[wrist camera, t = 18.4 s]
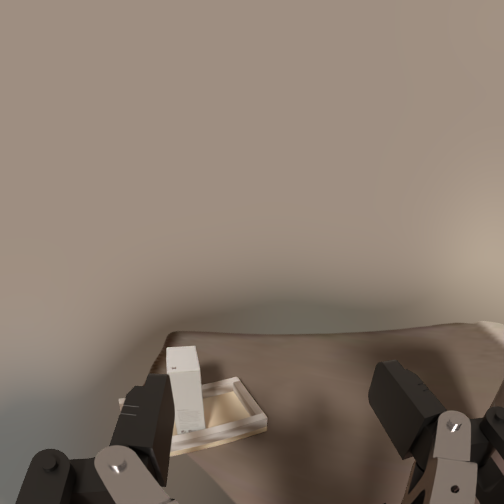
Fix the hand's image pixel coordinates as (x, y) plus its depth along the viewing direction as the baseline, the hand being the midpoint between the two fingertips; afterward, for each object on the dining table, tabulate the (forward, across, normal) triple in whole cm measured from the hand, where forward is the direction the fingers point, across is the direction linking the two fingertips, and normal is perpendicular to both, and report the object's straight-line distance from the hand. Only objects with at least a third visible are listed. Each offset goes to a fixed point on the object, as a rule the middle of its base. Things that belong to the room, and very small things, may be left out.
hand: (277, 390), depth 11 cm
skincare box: (+24, +7, +27) cm, 37 cm away
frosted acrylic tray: (+24, +7, +28) cm, 38 cm away
